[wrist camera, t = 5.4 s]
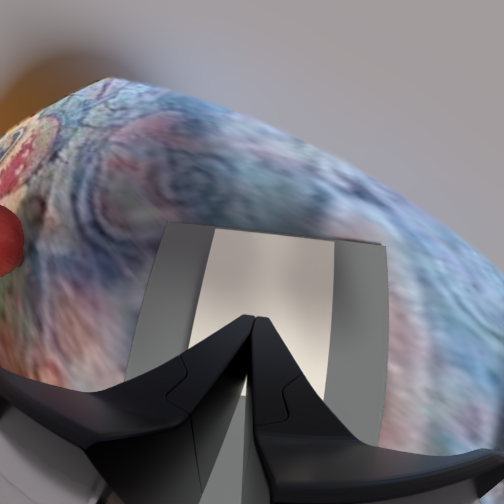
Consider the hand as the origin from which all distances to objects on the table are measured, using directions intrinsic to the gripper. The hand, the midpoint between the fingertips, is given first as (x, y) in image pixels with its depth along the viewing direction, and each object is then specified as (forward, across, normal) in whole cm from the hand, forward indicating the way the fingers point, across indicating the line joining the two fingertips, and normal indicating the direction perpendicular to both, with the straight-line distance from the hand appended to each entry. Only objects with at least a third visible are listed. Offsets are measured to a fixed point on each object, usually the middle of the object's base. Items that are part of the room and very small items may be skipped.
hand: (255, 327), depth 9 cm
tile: (+6, 0, +3) cm, 6 cm away
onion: (+7, +22, +3) cm, 23 cm away
